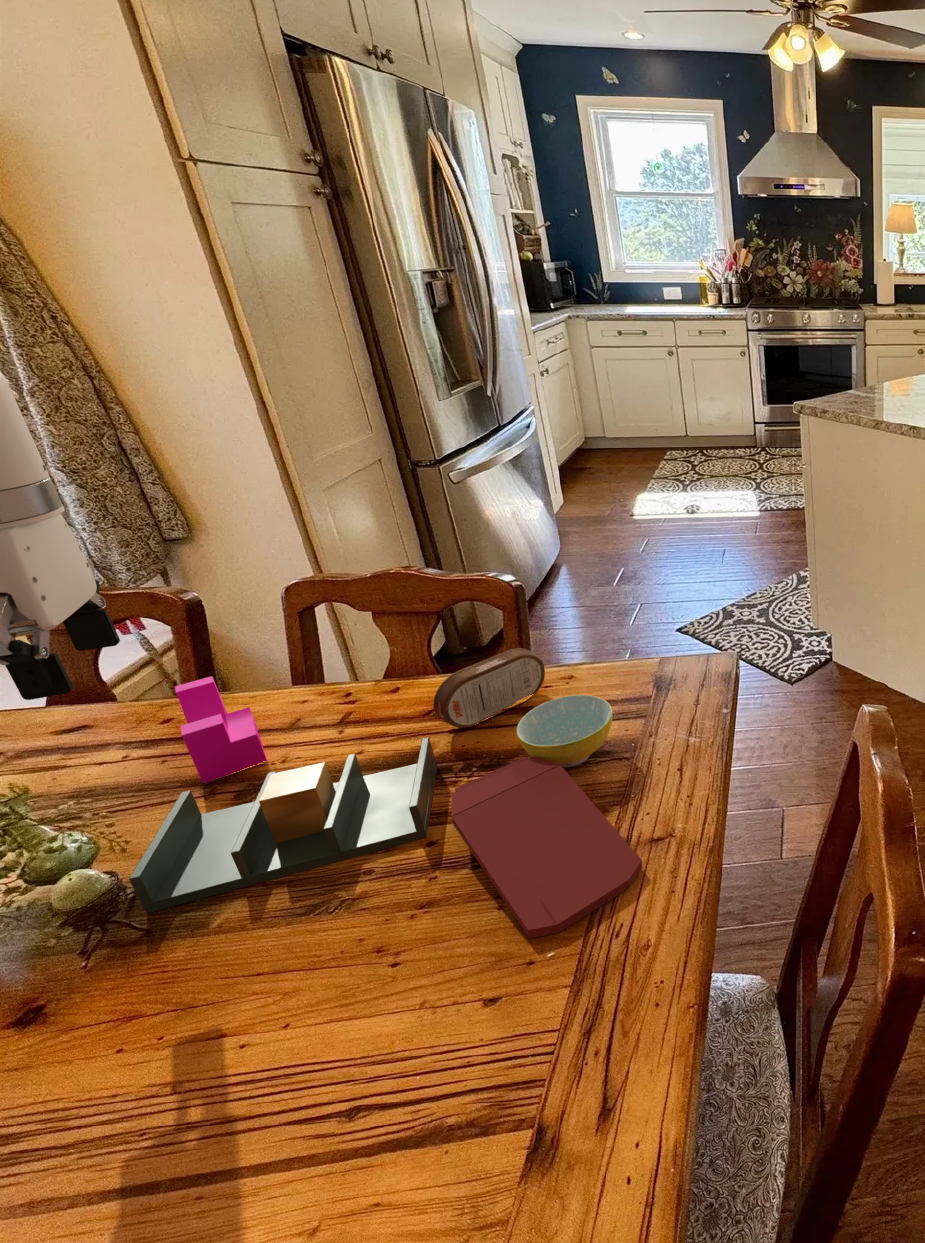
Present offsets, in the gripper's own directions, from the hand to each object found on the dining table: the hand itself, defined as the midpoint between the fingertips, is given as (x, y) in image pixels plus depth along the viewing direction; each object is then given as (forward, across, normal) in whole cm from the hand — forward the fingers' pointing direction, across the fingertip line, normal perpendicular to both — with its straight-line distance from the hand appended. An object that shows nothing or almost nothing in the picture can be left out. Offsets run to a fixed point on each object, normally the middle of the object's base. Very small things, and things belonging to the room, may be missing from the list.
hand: (75, 669), depth 72 cm
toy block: (+24, -22, 0) cm, 33 cm away
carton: (+24, +16, +37) cm, 47 cm away
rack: (+24, +2, +13) cm, 28 cm away
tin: (+24, -16, +32) cm, 43 cm away
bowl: (+24, 0, +41) cm, 48 cm away
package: (+23, +2, +13) cm, 27 cm away
